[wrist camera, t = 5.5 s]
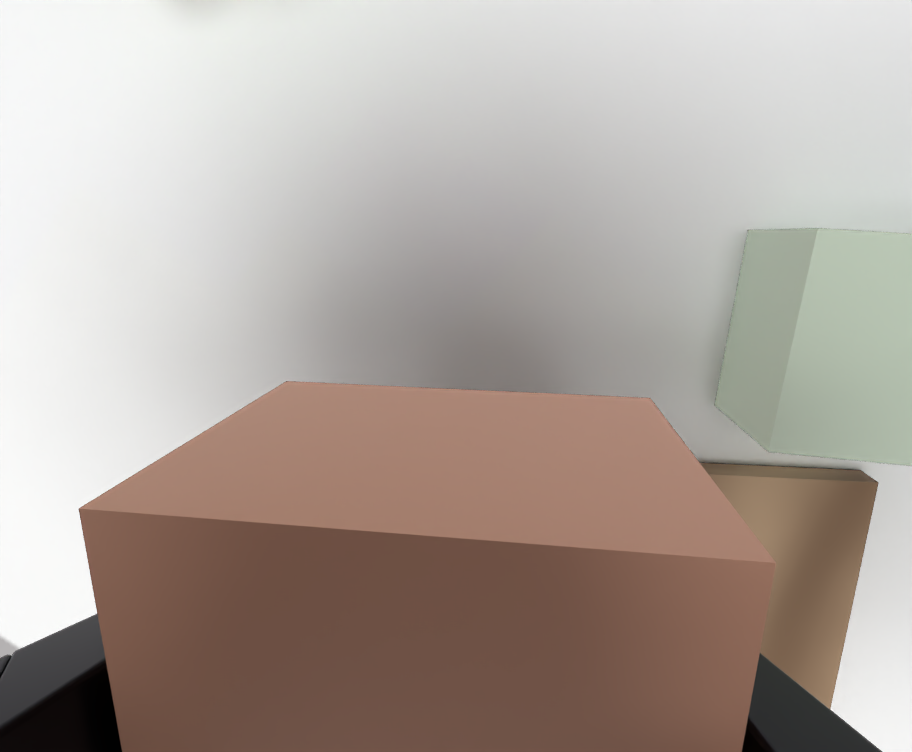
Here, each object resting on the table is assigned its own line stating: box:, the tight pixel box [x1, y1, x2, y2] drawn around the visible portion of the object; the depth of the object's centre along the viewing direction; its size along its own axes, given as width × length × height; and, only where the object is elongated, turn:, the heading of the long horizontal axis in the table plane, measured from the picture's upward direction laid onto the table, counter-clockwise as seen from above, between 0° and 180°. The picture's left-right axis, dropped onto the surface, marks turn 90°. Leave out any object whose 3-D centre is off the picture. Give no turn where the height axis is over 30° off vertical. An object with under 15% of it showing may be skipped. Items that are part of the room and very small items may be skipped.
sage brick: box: [715, 228, 912, 466], centre depth 16 cm, size 6×6×4 cm
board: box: [700, 463, 878, 709], centre depth 22 cm, size 16×16×1 cm
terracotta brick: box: [79, 381, 776, 752], centre depth 8 cm, size 6×6×4 cm
